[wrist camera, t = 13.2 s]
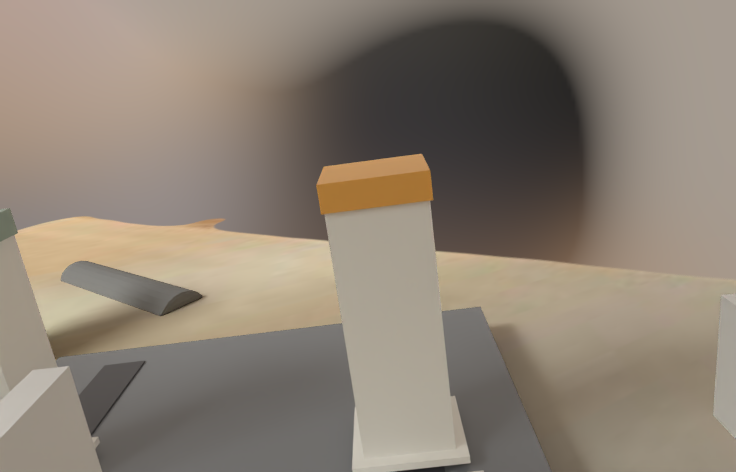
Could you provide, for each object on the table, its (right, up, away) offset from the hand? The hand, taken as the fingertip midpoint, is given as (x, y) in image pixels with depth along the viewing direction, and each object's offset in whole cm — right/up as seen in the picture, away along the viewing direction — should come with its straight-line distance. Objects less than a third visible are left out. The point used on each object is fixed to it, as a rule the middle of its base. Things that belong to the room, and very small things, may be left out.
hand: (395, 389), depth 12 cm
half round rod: (-23, -2, +41) cm, 47 cm away
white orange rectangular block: (+1, -5, +12) cm, 13 cm away
